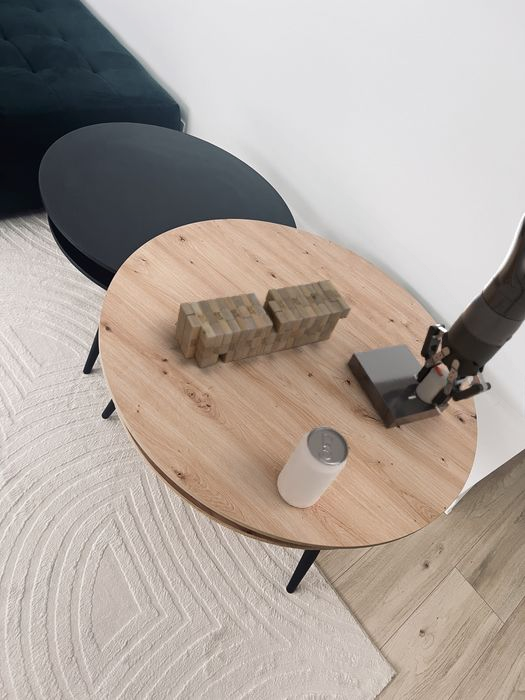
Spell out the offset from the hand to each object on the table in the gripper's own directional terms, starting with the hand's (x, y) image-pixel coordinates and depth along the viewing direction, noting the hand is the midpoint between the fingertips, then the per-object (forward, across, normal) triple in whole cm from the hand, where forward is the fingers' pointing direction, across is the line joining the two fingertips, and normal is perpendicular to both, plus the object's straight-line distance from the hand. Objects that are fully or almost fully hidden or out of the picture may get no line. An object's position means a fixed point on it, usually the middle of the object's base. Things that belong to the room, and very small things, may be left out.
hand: (429, 391), depth 91 cm
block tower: (+4, -20, -23) cm, 31 cm away
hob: (+4, -4, -3) cm, 6 cm away
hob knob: (+1, 0, 0) cm, 1 cm away
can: (+4, +8, -29) cm, 30 cm away
